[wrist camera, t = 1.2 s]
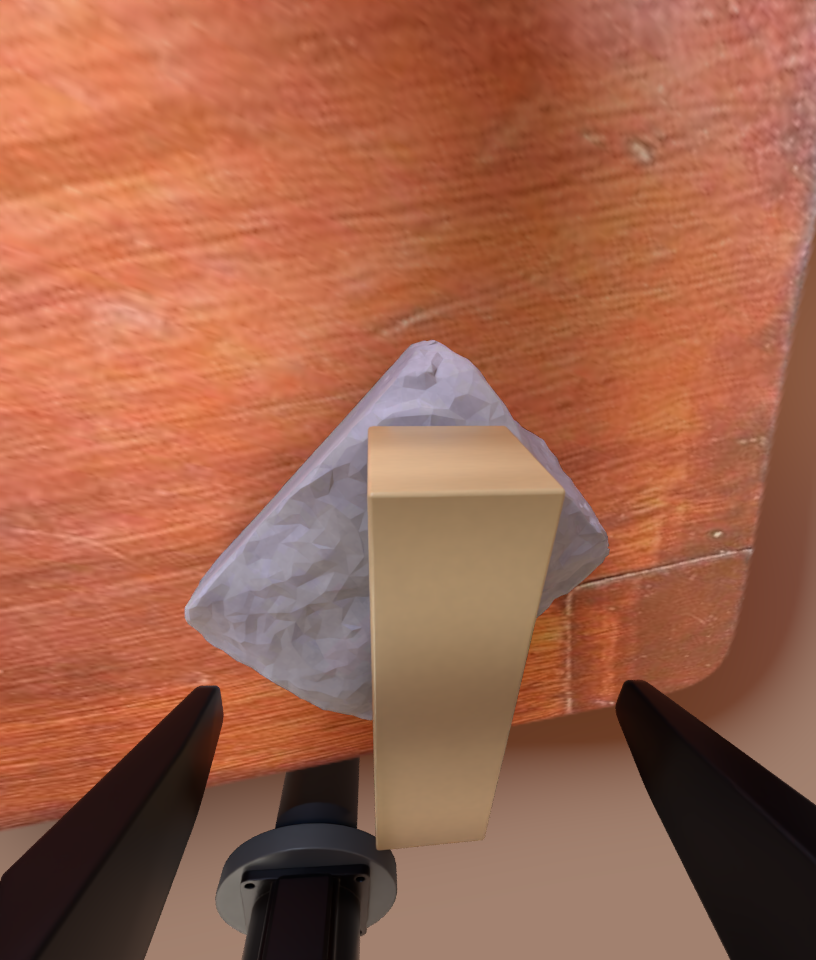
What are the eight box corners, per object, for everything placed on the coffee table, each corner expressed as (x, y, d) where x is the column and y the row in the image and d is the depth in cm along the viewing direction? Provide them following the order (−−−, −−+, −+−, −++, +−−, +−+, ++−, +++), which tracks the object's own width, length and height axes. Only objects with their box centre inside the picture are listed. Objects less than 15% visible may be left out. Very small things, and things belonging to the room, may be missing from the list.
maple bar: (462, 730, 13) (485, 841, 11) (374, 737, 13) (376, 851, 11) (506, 424, 9) (569, 490, 6) (368, 425, 8) (366, 494, 6)
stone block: (577, 478, 16) (406, 299, 11) (663, 556, 12) (457, 333, 7) (386, 643, 19) (188, 558, 15) (405, 749, 15) (140, 681, 10)
